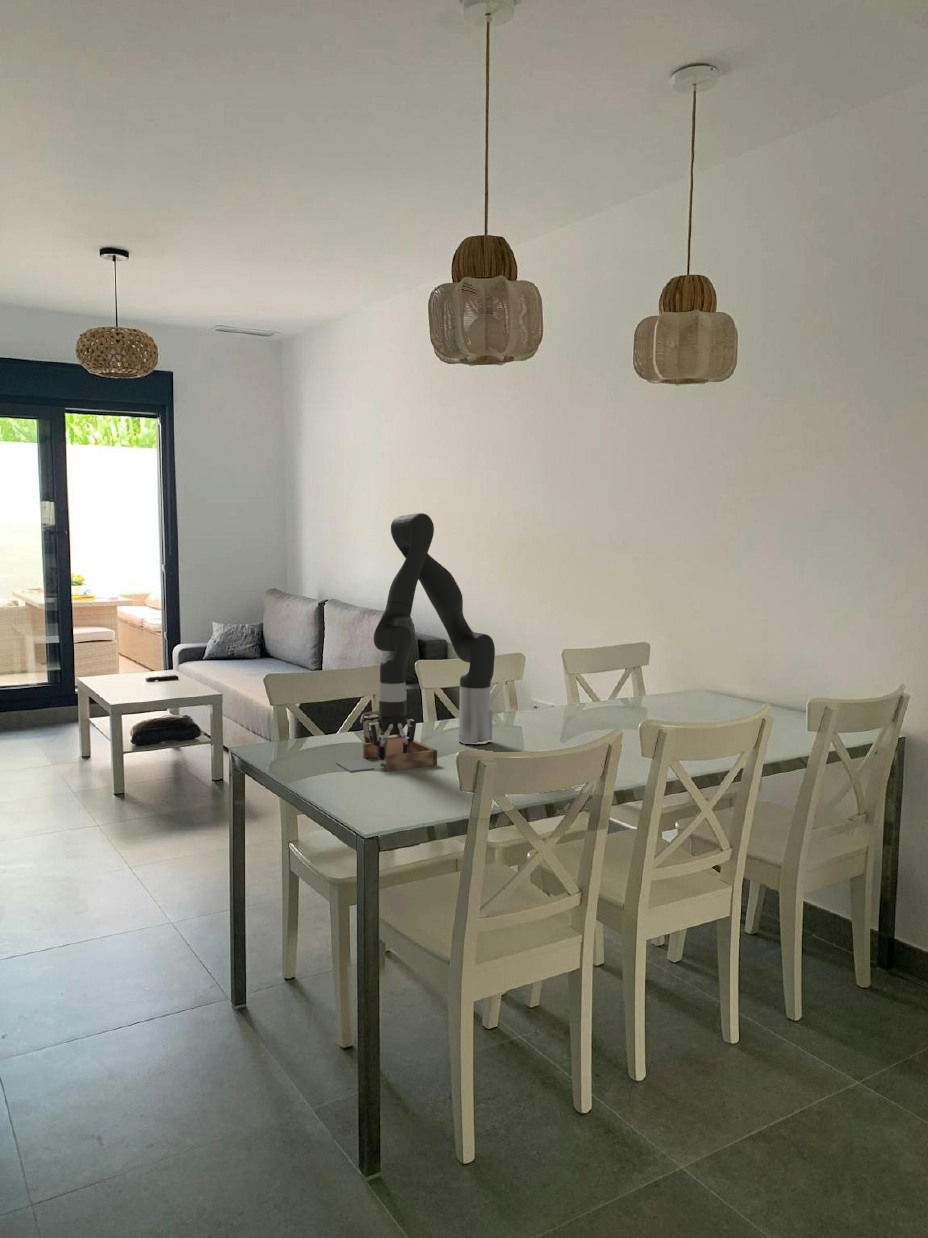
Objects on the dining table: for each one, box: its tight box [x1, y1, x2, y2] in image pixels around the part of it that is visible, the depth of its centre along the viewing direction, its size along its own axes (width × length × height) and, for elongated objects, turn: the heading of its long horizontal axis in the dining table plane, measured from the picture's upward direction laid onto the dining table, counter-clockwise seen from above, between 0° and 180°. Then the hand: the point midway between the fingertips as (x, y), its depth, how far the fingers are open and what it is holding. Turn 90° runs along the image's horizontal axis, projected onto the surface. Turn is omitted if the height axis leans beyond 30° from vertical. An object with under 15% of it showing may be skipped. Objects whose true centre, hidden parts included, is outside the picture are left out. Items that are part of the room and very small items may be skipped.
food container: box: [360, 710, 381, 743], centre depth 284 cm, size 12×6×10 cm, turn 111°
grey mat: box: [335, 759, 375, 773], centre depth 260 cm, size 7×10×1 cm
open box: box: [362, 739, 438, 772], centre depth 266 cm, size 15×16×4 cm
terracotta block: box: [380, 735, 403, 765], centre depth 265 cm, size 4×4×7 cm
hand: (392, 758), depth 265 cm, fingers open, 5 cm apart
